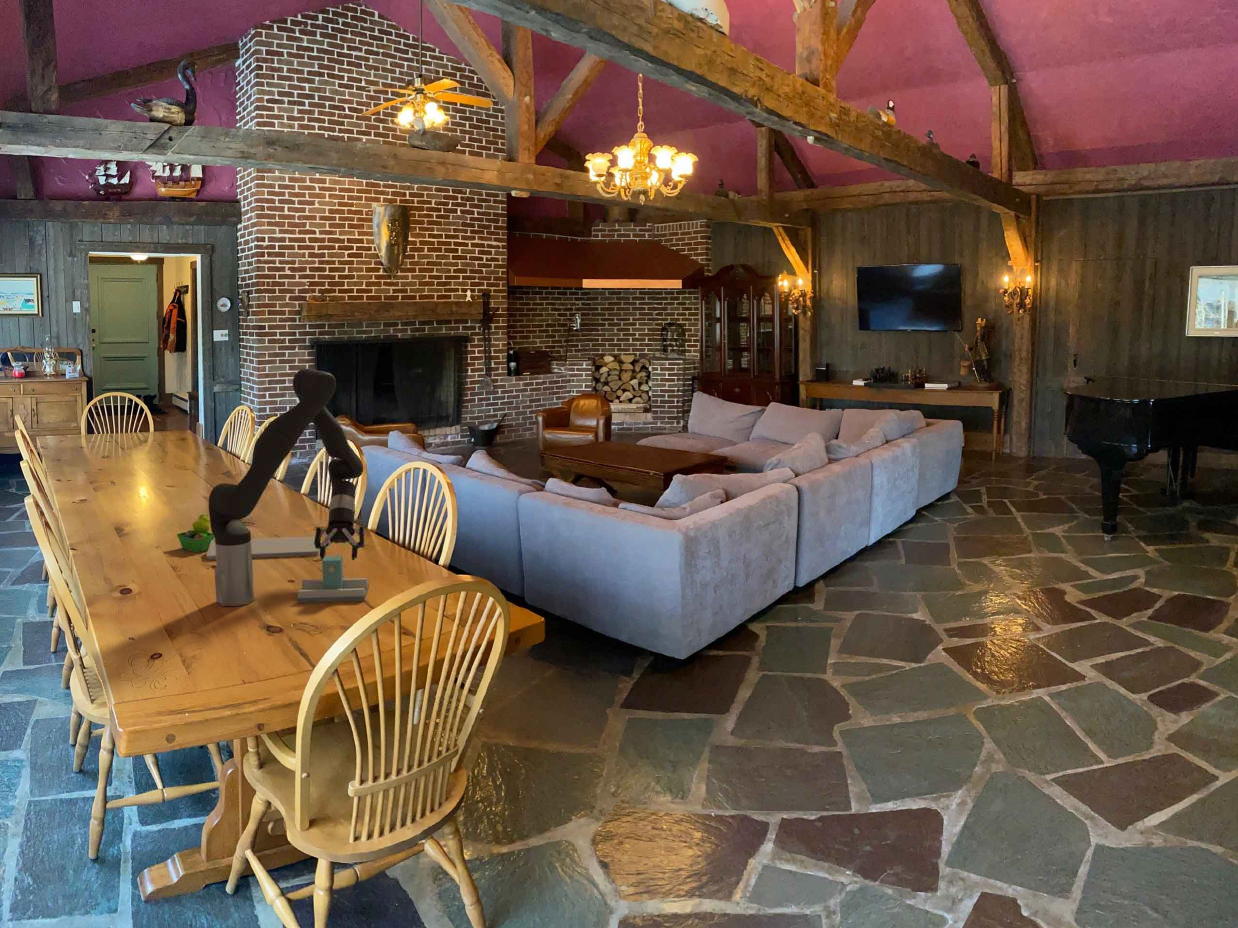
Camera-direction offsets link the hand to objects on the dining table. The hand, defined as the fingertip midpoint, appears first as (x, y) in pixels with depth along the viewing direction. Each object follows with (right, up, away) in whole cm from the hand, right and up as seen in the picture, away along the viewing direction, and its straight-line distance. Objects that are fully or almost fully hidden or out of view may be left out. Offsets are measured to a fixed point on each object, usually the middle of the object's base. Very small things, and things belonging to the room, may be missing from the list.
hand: (338, 559), depth 279 cm
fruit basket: (-58, 0, +36) cm, 68 cm away
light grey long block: (-34, -2, +32) cm, 46 cm away
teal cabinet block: (+2, -8, -10) cm, 13 cm away
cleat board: (+1, -9, -9) cm, 13 cm away
